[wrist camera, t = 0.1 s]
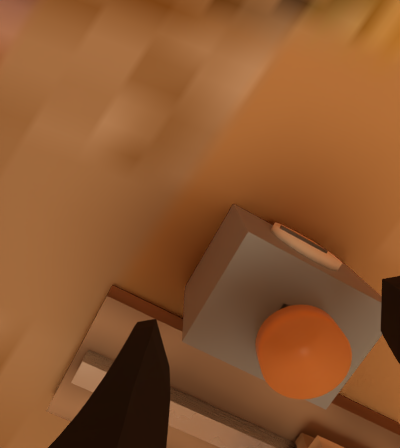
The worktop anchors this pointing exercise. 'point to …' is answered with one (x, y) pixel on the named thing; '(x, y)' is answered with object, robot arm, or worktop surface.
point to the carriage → (314, 442)
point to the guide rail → (191, 413)
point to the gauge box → (272, 293)
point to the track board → (219, 385)
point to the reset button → (302, 352)
